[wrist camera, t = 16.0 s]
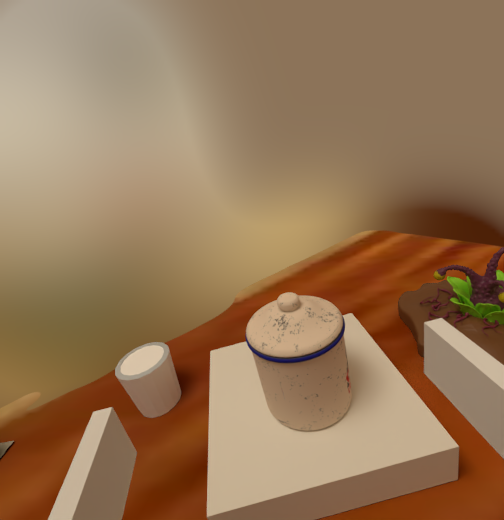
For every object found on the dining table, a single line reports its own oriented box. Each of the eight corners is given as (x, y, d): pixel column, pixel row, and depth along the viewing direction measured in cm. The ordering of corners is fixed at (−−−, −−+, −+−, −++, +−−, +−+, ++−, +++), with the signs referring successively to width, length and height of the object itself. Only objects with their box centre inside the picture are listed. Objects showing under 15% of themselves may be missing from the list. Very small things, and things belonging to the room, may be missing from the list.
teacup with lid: (375, 405, 29) (364, 297, 24) (290, 454, 26) (260, 344, 22) (308, 339, 39) (292, 257, 35) (243, 370, 37) (217, 285, 33)
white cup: (163, 375, 46) (146, 337, 43) (196, 387, 42) (179, 346, 39) (124, 411, 41) (103, 371, 38) (158, 429, 37) (136, 386, 34)
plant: (669, 383, 28) (707, 277, 24) (437, 394, 33) (435, 306, 29) (527, 281, 46) (535, 210, 42) (389, 298, 51) (384, 235, 47)
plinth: (221, 546, 25) (206, 516, 23) (218, 373, 43) (210, 351, 42) (457, 479, 25) (458, 446, 24) (354, 336, 44) (351, 313, 42)
